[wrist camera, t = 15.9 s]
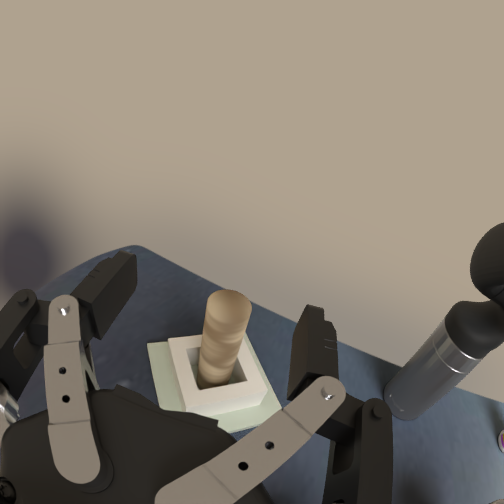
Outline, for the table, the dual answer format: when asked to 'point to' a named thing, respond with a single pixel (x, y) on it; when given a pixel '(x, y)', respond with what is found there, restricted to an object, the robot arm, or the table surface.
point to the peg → (222, 337)
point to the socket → (213, 399)
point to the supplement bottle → (501, 441)
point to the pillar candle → (498, 501)
